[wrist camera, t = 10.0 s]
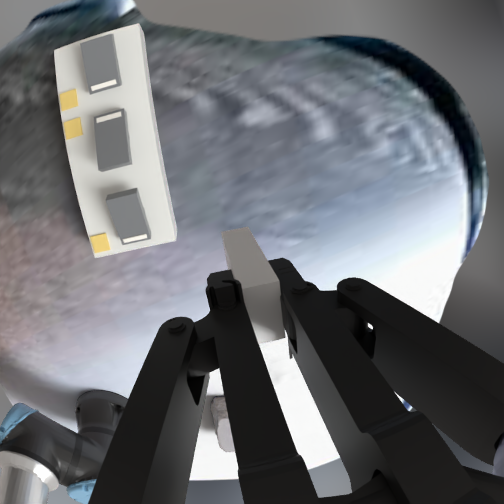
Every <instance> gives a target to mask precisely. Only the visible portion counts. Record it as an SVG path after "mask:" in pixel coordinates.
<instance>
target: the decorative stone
mask: <svg viewBox="0 0 504 504" xmlns="http://www.w3.org/2000/svg"><path fill="white" fill-rule="evenodd" d="M211 412H212V415H213V416H214V419H213V422H214V426H215V433H216V435H217V438H218V441H219V442H218V443H219V446H220V448H221V449H223V450H224V451H225V452H234V451H235V448H234V443H233V438H232V433H231V428H230V423H229V418H228V413H227V407H226V402H225V397H223V396H222V397H214V399H213V401H212V402H211Z"/></svg>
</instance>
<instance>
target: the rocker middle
mask: <svg viewBox="0 0 504 504" xmlns="http://www.w3.org/2000/svg"><path fill="white" fill-rule="evenodd" d="M94 130H95V143H96V154H97V163H98V170H99V171H101V172H104V171H108V170H112V169H116V168H120V167H123V166H127V165H132V157H131V149H130V141H129V132H128V122H127V112H126V111H125V109H124V108H123V109H119V110H115V111H112V112H108V113H105V114H101V115H98V116H95V117H94Z"/></svg>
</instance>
